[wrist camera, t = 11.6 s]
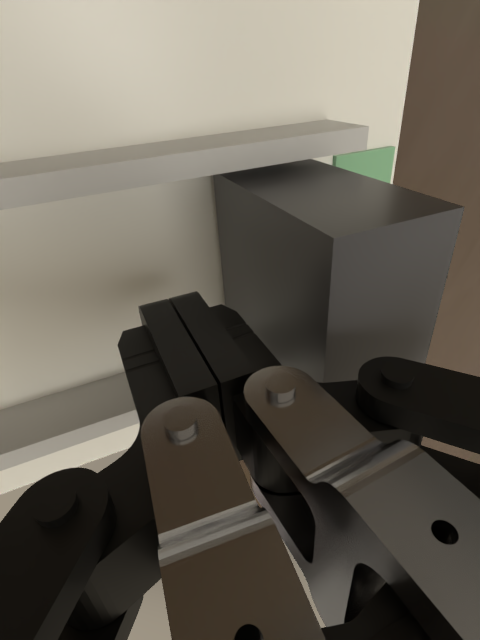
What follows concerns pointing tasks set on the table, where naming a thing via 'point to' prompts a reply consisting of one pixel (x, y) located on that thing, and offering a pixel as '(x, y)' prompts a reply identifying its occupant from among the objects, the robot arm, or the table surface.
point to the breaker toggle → (333, 264)
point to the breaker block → (154, 176)
